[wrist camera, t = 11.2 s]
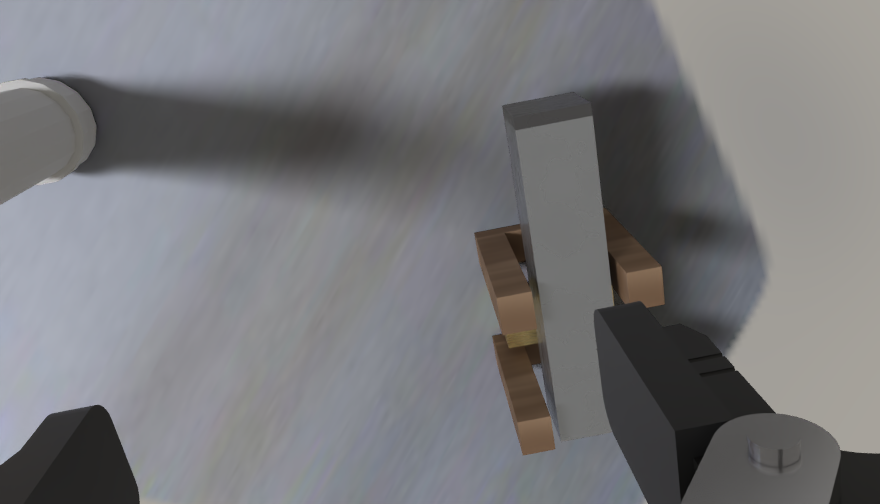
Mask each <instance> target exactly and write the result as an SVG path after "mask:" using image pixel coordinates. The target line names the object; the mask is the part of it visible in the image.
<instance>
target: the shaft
mask: <svg viewBox="0 0 880 504" xmlns="http://www.w3.org/2000/svg"><path fill="white" fill-rule="evenodd" d="M502 107H503V114H504V120H505V127H506V134H507V140H508V147H509V154H510V160H511V167H512V173H513V180H514V187H515V193H516V200H517V206H518V213H519V220H520V226H521V233H522V239H523V246H524V253H525V259H526V266H527V273H528V279H529V286H530V289H531V291H532V297H533V304H534V311H535V317H536V324H537V329H536V332H537V339H538V345H539V352H540V358H541V365H542V372H543V378H544V385H545V392H546V398H547V405H548V408H549V411H550V414H551V416H552V419H553V422H554V424H555V427H556V430H557V432H558V435H559V438H560V441H561V442H563V441H569V440H574V439H579V438H584V437H590V436H595V435H600V434H605V433H610V432H612V429H611V427H610V424H609V421H608V417H607V413H606V409H605V405H604V400H603V393H602V386H601V377H600V369H599V361H598V353H597V345H596V337H595V329H594V311H595V310H596V309H601V308H606V307H611V306H614V304H613V295H612V286H611V277H610V268H609V259H608V250H607V241H606V232H605V223H604V214H603V205H602V196H601V187H600V178H599V169H598V160H597V150H596V141H595V132H594V123H593V114H592V105H591V102H589V101H588V100H586V99H584V98H582V97H581V96H579V95H577V94H576V93H574V92H570V93H565V94H560V95H555V96H549V97H544V98H539V99H534V100H529V101H523V102H518V103H513V104H508V105H503V106H502Z"/></svg>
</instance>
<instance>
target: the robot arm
mask: <svg viewBox="0 0 880 504" xmlns="http://www.w3.org/2000/svg"><path fill="white" fill-rule="evenodd" d="M594 329H595V337H596V345H597V353H598V361H599V369H600V377H601V386H602V393H603V400H604V405H605V409H606V413H607V417H608V421H609V424H610V427H611V429H612V432H613V434H614V436H615V438H616V440H617V442H618V444H619V446H620V448H621V450H622V452H623V454H624V456H625V458H626V460H627V462H628V464H629V466H630V468H631V470H632V472H633V474H634V476H635V478H636V480H637V482H638V484H639V486H640V488H641V490H642V492H643V495H644V497H645V499H646V501H647V503H648V504H880V454H872V453H869V454H868V453H855V452H847V451H841V450H840V447H839V445H838V443H837V441H836V440H835V439H834V438H833V436H832V435H831V434H830V433H829V432H827V431H826V430H825V429H823V428H822V427H820V426H818V425H816V424H815V423H812V422H810V421H807V420H805V419H802V418H798V417H794V416H790V415H785V414H776V413H775V412H774V411H773V410H772V409H771V407H770V406H769V405H768V404H767V403H766V402H765V401H764V400H763V399H762V397H761V396H760V395H759V394H758V393H757V392H756V391H755V389H754V388H753V387H752V386H751V385H750V384H749V383H748V382H747V381H746V380H745V378H744V377H743V376H742V375H741V374H740V373H739V372H738V371H735V369H734V366H733V365H732V364H731V363H730V362H729V361H728V359H727V358H726V357H725V356H722V353H721V352H720V350H719V349H718V348H717V347H716V346H715V345H714V344H713V343H712V342H711V340H710V339H709V338H708V337H707V336H706V335H703V334H701V333H699V332H697V331H695V330H693V329H690V328H688V327H686V326H684V325H682V324H677V325H672V326H667V327H662V326H661V325H660V324H659V323H658V321H657V320H656V319H655V318H654V316H653V315H652V314H651V313H650V311H649V310H648V309H647V308H646V306H645V305H644V304H643V303H642V302H641V301H637V302H632V303H627V304H621V305H616V306H611V307H606V308H601V309H596V310H595V311H594ZM0 504H140V501H139V492H138V487H137V484H136V481H135V478H134V476H133V473H132V471H131V468H130V465H129V463H128V460H127V458H126V455H125V453H124V450H123V447H122V445H121V442H120V440H119V437H118V435H117V432H116V429H115V427H114V424H113V422H112V419H111V417H110V415H109V413H108V412H107V410H106V409H105V408H104V407H102V406H100V405H94V406H89V407H84V408H78V409H73V410H68V411H63V412H58V413H53V414H50V415H48V416H47V417H46V418H45V420H44V421H43V422H42V423H41V425H40V426H39V427H38V428H37V430H36V431H35V432H34V433H33V435H32V436H31V437H30V439H29V440H28V441H27V442H26V444H25V445H24V446H23V447H22V449H21V450H20V451H18V452H17V453H16V454H15V455H13V456H12V457H11V458H9V459H8V460H7V461H5V462H4V463H3V464H2V465H0Z"/></svg>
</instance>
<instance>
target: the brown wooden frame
mask: <svg viewBox="0 0 880 504" xmlns="http://www.w3.org/2000/svg"><path fill="white" fill-rule="evenodd" d="M603 214H604V223H605V232H606V241H607V250H608V259H609V268H610V277H611V285H612V287H613V288H614V289H615V291H616V292H617V293H618V295H619V296H620V298H621V299H622V300H623V302H624V303H625V304H627V303H632V302H637V301H641V302H642V303H643V304H644V305H645V306H646V308H648V307H653V306H659V305H664V304H665V301H664V289H663V277H662V266H661V265H660V264H659V263H658V262H657V261H656V260H655V259H654V258H653V257H652V256H651V255H650V254H649V253H648V252H647V251H646V250H645V249H644V248H643V247H642V246H641V245H640V244H639V242H638V241H637V240H636V239H635V238H634V237H633V236H632V235H631V234H630V233H629V232H628V231H627V230H626V229H625V228H624V227H623V226H622V225H621V224H620V223H619V222H618V221H617V220H616V219H615V218H614V216H613V215H612V214H611V213H610V212H609V211H608V210H607V209H606V208H603ZM474 234H475V240H476V245H477V251H478V257H479V263H480V266H481V269H482V272H483V275H484V279H485V282H486V285H487V288H488V291H489V294H490V297H491V300H492V303H493V306H494V310H495V313H496V316H497V319H498V322H499V325H500V328H501V331H502V334H500V335H495V336H492V337H493V343H494V349H495V354H496V360H497V365H498V369H499V372H500V376H501V379H502V383H503V386H504V390H505V393H506V397H507V400H508V404H509V407H510V411H511V415H512V418H513V422H514V425H515V429H516V432H517V436H518V439H519V443H520V446H521V450H522V453H523V455H527V454H533V453H538V452H543V451H548V450H553V449H555V444H554V437H553V430H552V424H551V417H550V414H549V411H548V408H547V406H546V403H545V400H544V398H543V395H542V392H541V390H540V387H539V384H538V382H537V379H536V376H535V374H534V371H533V368H532V365H534V364H539V363H541V358H540V352H539V345H538V343H536V344H531V345H525V346H520V347H515V348H510V349H509V347H508V344H507V341H506V338H505V335H508V334H513V333H518V332H523V331H528V330H534V329H537V324H536V317H535V311H534V304H533V297H532V291H531V289H530V287H529V285H528V283H527V280H526V278H525V276H524V274H523V272H522V270H521V267H520V265H519V263H518V262H522V261H526V259H525V253H524V246H523V239H522V233H521V226H520V224H518V225H513V226H508V227H502V228H497V229H492V230H487V231H481V232H476V233H474Z"/></svg>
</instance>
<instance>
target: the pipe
mask: <svg viewBox="0 0 880 504" xmlns="http://www.w3.org/2000/svg"><path fill="white" fill-rule="evenodd" d="M96 128H97V126H96V123H95V120H94V117H93V114H92V111H91V108H90V107H89V106H88V105H87V103H86V102H85V101H84V100H83V98H82V97H81V96H80V95H79V93H78V92H76V91H75V90H73V89H71V88H70V87H68V86H67V85H65V84H63V83H62V82H60V81H56V80H51V79H46V78H41V77H38V78H33V79H26V78H24V79H19V80H13V81H8V82H3V83H0V205H1V204H3V203H4V202H6V201H8V200H10V199H11V198H13V197H15V196H17V195H18V194H20V193H22V192H24V191H25V190H27V189H29V188H31V187H32V186H34V185H42V184H47V183H53V182H58V181H59V180H61V179H63V178H64V177H65V176H67V175H68V174H70V173H71V172H73V171H74V170H76V169H77V168H78V166H79V165H80V164H81V163H83V162H84V161H86V160H87V158H88V157H89V155H90V153H91V151H92V150H93V148H94V146H95V142H96Z"/></svg>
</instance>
